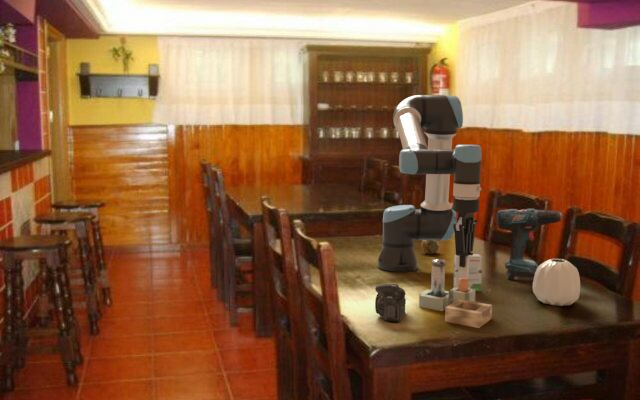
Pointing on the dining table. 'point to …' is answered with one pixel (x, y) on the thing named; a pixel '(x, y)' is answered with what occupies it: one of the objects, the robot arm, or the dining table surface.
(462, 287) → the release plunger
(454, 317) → the block
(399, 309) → the camera
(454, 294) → the socket block
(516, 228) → the power drill
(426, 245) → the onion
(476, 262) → the ink box
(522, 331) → the dining table surface
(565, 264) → the vase
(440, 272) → the metal peg
